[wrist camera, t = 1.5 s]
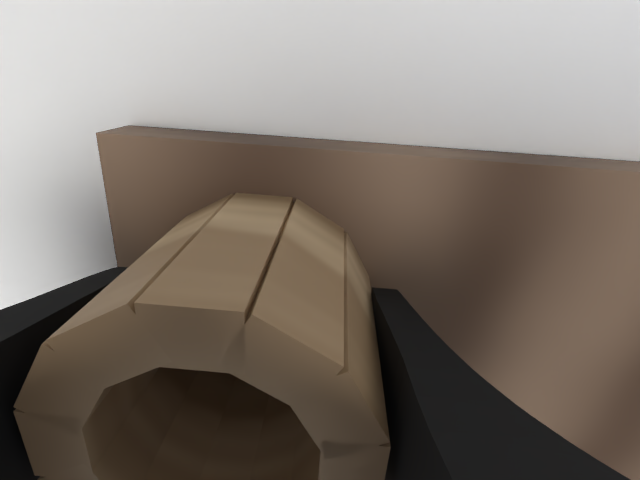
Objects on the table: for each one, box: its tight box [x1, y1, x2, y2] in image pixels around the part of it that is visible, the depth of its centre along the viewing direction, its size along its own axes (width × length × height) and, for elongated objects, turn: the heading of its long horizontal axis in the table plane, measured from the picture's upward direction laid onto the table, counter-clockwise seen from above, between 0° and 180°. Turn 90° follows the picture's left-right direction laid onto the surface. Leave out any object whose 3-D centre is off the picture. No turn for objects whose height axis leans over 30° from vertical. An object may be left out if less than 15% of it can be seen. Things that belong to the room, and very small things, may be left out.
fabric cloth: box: [96, 126, 640, 480], centre depth 13 cm, size 18×18×2 cm
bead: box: [13, 193, 391, 480], centre depth 8 cm, size 6×6×5 cm
